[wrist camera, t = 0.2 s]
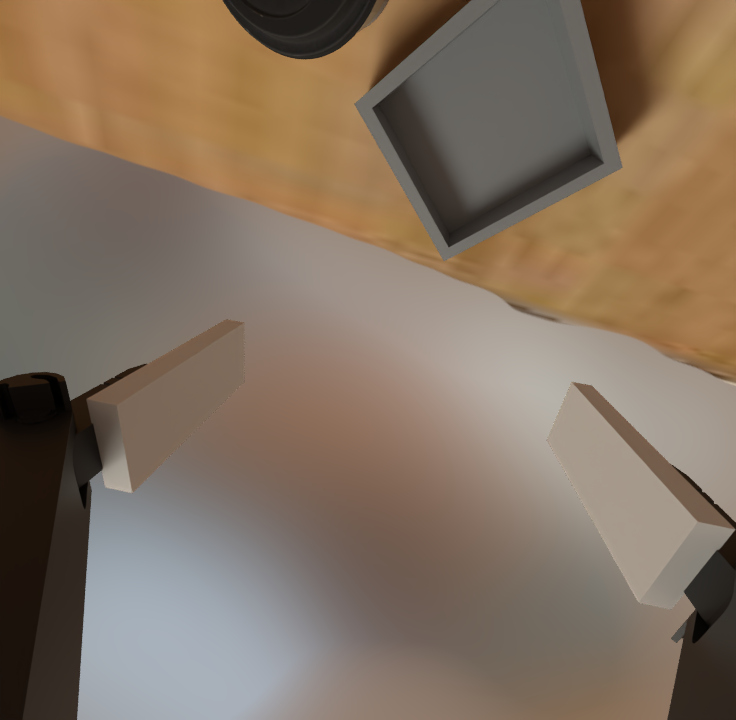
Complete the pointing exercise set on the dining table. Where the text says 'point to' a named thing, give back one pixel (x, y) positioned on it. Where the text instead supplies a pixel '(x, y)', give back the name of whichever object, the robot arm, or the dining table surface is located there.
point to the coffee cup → (304, 23)
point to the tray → (494, 118)
